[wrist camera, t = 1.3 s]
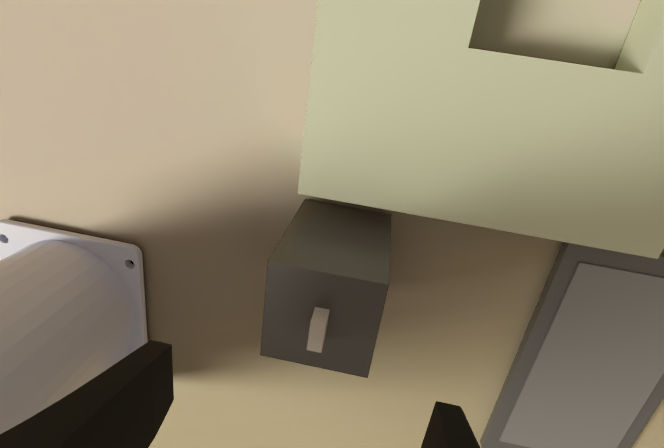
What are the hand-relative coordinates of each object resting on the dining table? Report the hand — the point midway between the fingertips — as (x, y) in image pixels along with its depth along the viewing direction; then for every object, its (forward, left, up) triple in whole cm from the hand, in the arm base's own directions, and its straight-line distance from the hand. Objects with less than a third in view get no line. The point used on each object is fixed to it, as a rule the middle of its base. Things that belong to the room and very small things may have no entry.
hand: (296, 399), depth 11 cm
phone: (-4, -13, -10) cm, 17 cm away
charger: (0, 0, -10) cm, 10 cm away
